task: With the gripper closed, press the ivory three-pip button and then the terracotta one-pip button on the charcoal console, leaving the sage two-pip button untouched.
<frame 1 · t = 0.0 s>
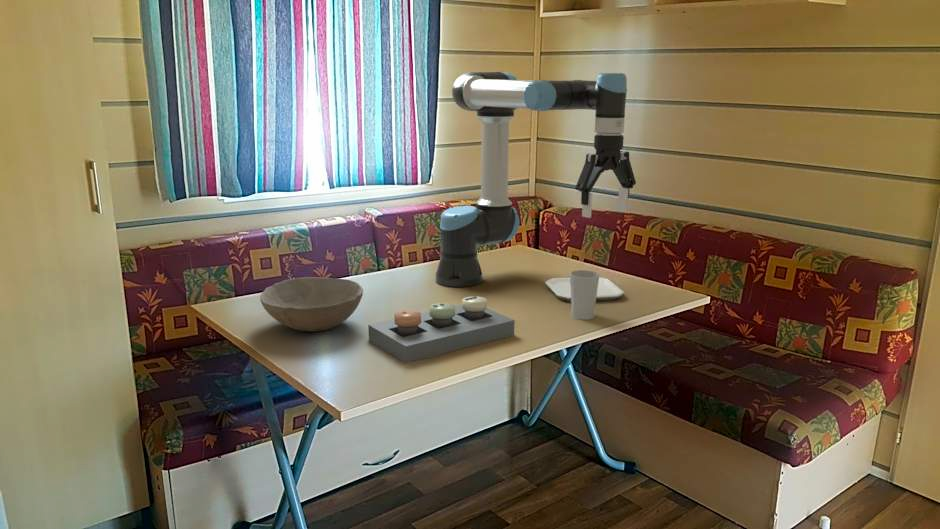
hand: (604, 214, 195), 28 cm above the table, fingers open, 13 cm apart
plate: (583, 294, 222), on the table
bowl: (314, 327, 191), on the table
console: (442, 337, 183), on the table
button two: (442, 315, 182), point 6 cm above the table, slide at 0.0 cm
button one: (407, 323, 176), point 6 cm above the table, slide at 0.0 cm
cup: (582, 316, 200), on the table
button three: (474, 308, 187), point 6 cm above the table, slide at 0.0 cm
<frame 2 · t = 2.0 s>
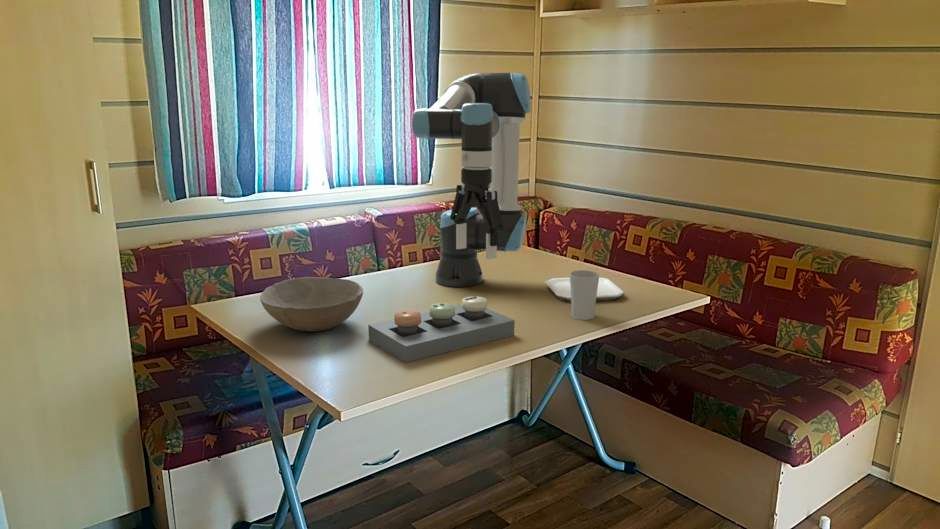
hand: (475, 253, 184), 20 cm above the table, fingers open, 12 cm apart
nothing on the table moved.
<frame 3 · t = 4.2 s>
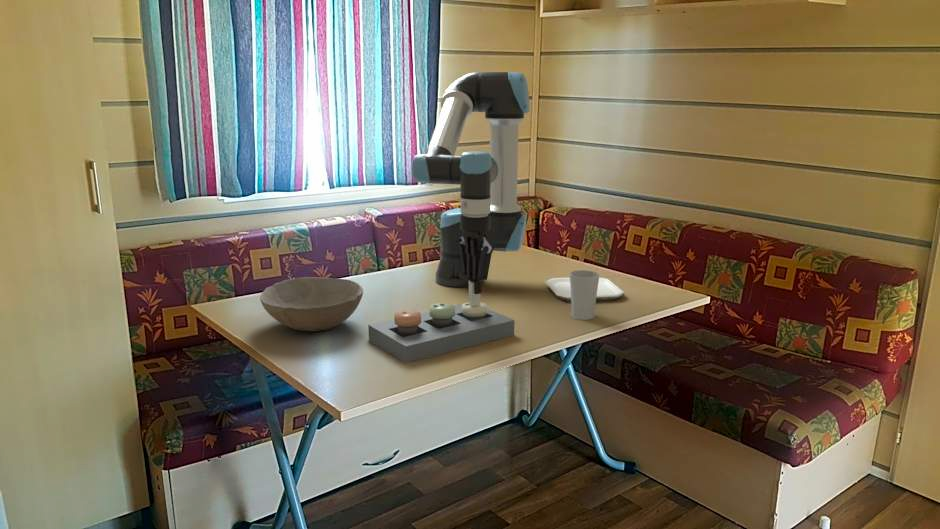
hand: (474, 304, 187), 7 cm above the table, fingers closed
button three: (474, 314, 188), point 4 cm above the table, slide at 1.4 cm, touching gripper
everything else where it was.
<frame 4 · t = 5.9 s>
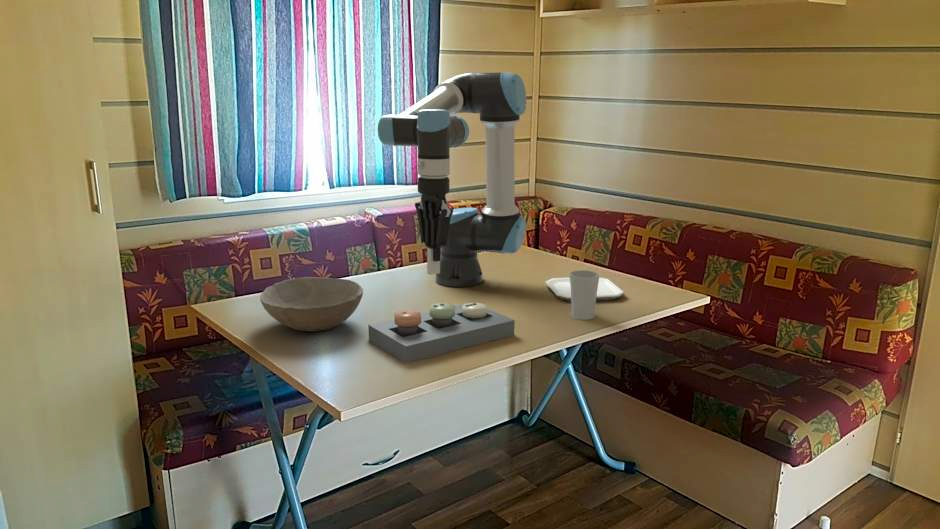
hand: (433, 273, 177), 17 cm above the table, fingers closed
button three: (474, 315, 188), point 4 cm above the table, slide at 1.7 cm
everything else where it was.
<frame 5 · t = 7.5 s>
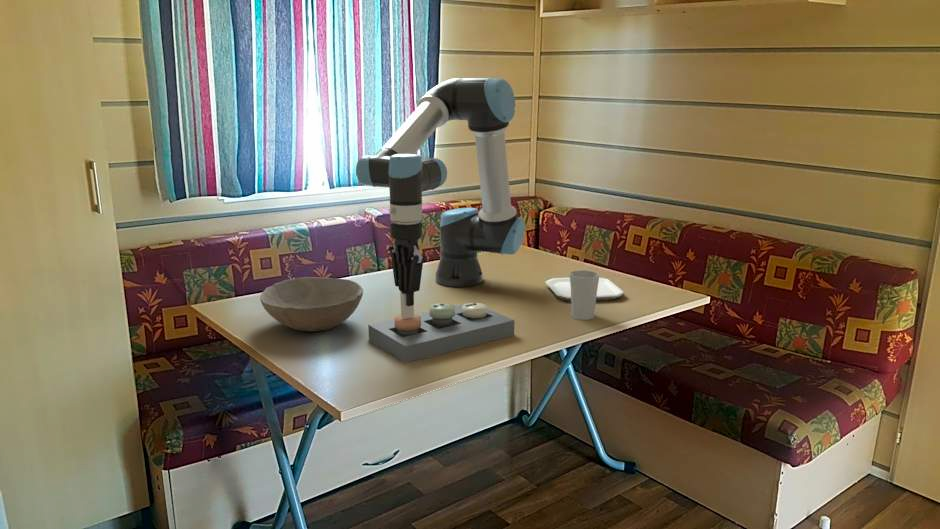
hand: (407, 317, 176), 7 cm above the table, fingers closed
button one: (407, 327, 176), point 5 cm above the table, slide at 0.9 cm, touching gripper
everything else where it was.
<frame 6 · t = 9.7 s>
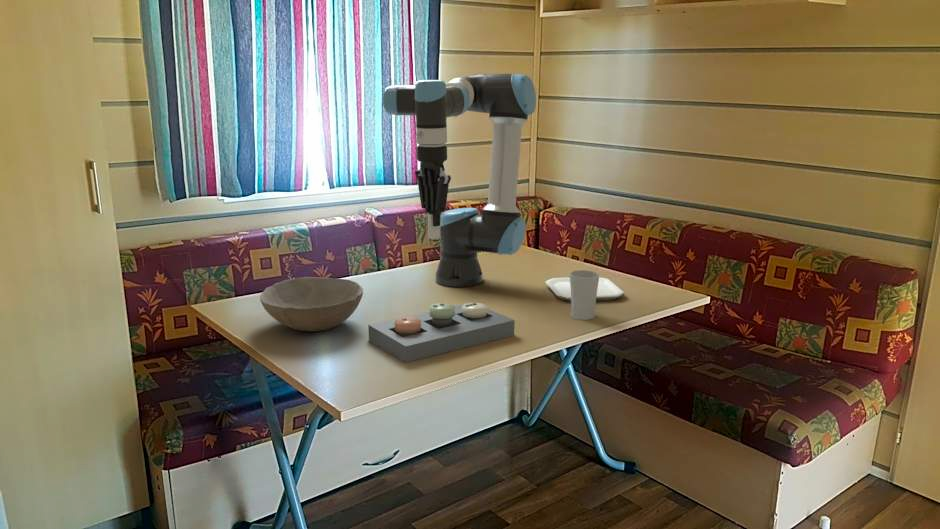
hand: (434, 237, 186), 24 cm above the table, fingers closed
button one: (407, 330, 177), point 4 cm above the table, slide at 1.7 cm
everything else where it was.
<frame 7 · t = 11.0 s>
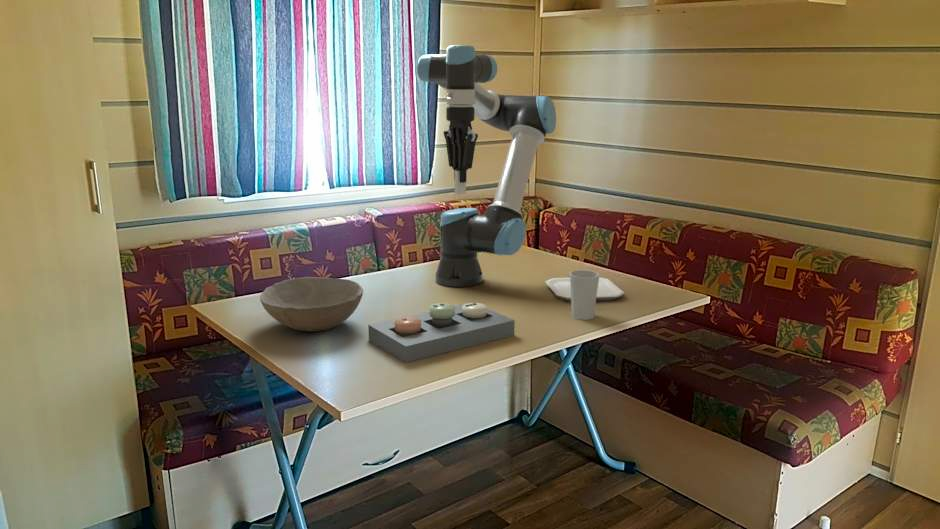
hand: (460, 193, 199), 32 cm above the table, fingers closed
nothing on the table moved.
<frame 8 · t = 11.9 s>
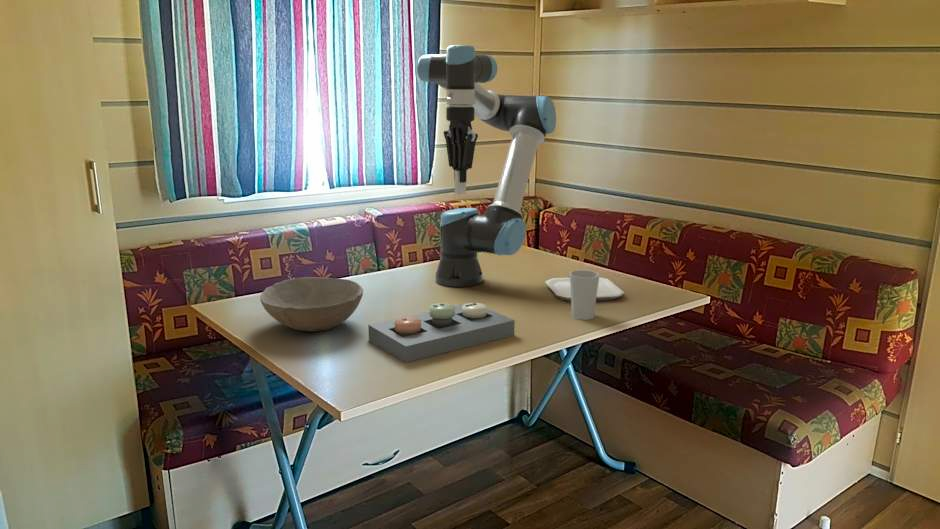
hand: (460, 193, 199), 32 cm above the table, fingers closed
nothing on the table moved.
at the end: button three slide at 1.7 cm; button one slide at 1.7 cm; button two slide at 0.0 cm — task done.
